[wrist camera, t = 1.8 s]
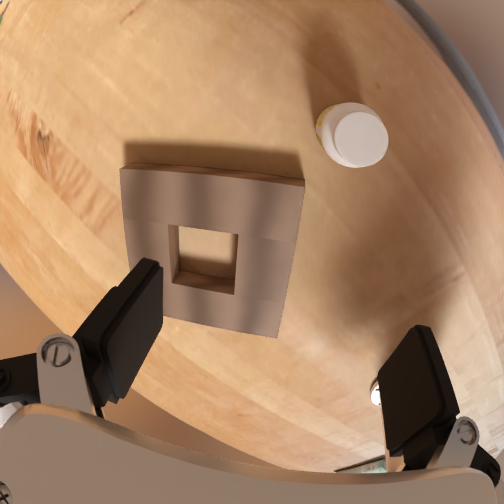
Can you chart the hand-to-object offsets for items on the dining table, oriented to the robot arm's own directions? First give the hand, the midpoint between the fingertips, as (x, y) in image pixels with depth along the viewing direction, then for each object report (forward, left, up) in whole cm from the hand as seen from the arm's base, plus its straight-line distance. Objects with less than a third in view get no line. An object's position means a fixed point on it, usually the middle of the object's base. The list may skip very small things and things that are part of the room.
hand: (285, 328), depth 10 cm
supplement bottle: (-4, -6, -23) cm, 24 cm away
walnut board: (+9, +10, -22) cm, 26 cm away
